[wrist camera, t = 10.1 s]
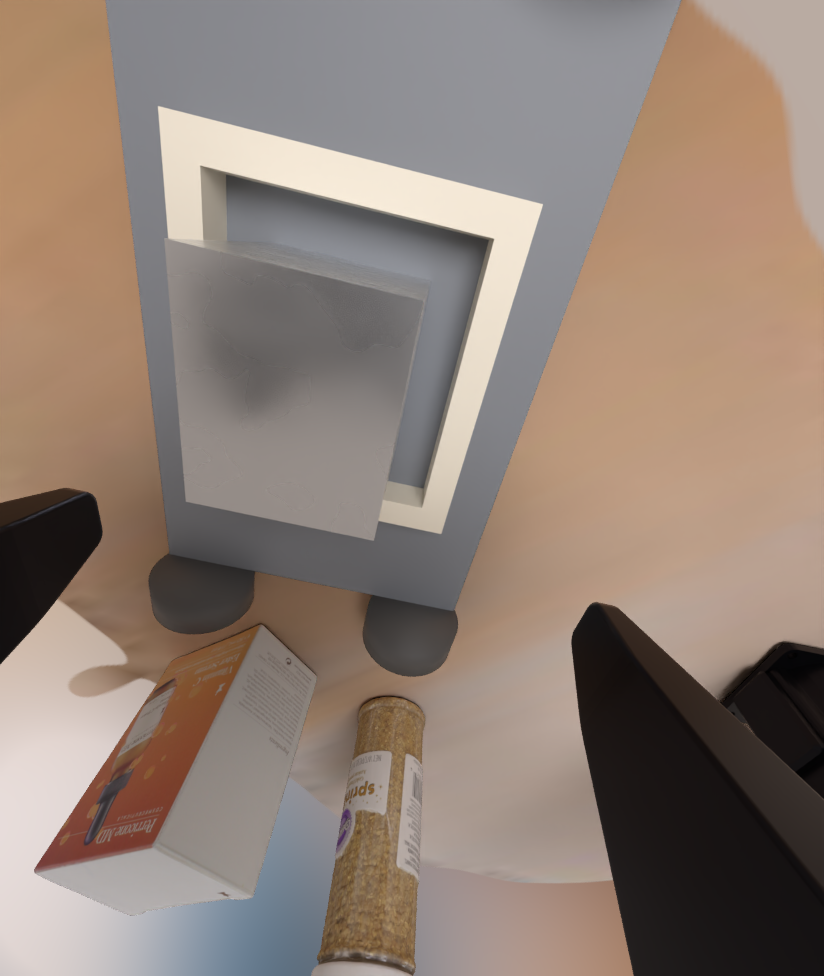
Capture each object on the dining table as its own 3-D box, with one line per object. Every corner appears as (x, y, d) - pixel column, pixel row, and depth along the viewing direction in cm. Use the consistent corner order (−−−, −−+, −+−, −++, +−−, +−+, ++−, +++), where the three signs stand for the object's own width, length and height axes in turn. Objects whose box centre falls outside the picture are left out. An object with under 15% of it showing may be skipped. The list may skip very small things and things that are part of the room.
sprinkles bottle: (363, 688, 26) (301, 1031, 15) (432, 700, 27) (425, 1048, 15) (355, 727, 29) (297, 1051, 17) (419, 738, 29) (405, 1065, 17)
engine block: (430, 280, 13) (423, 300, 8) (395, 447, 16) (373, 540, 11) (275, 242, 13) (164, 238, 8) (269, 419, 16) (185, 501, 11)
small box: (263, 619, 24) (154, 847, 15) (321, 675, 26) (256, 902, 17) (169, 659, 26) (24, 875, 17) (228, 707, 29) (129, 920, 19)
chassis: (712, -112, 10) (880, -335, 6) (448, 611, 23) (450, 684, 19) (106, -295, 9) (-131, -680, 5) (184, 558, 22) (130, 623, 18)
